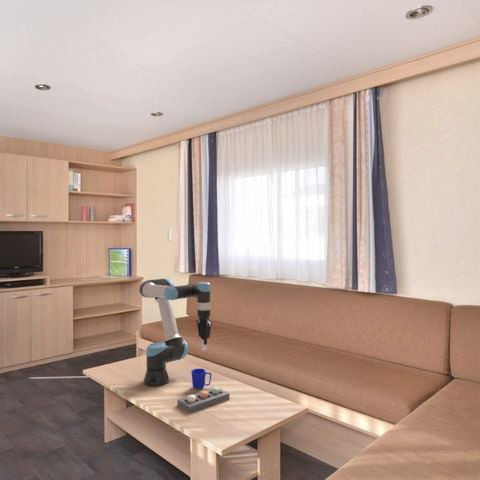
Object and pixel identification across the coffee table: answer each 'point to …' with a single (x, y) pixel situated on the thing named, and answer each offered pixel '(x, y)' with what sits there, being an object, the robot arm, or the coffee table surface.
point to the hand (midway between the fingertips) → (204, 349)
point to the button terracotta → (203, 395)
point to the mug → (199, 378)
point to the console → (203, 401)
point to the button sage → (215, 390)
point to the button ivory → (191, 399)
